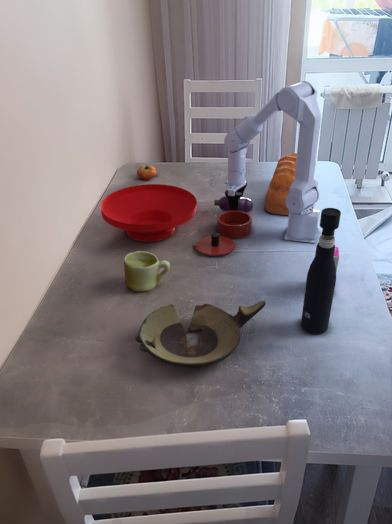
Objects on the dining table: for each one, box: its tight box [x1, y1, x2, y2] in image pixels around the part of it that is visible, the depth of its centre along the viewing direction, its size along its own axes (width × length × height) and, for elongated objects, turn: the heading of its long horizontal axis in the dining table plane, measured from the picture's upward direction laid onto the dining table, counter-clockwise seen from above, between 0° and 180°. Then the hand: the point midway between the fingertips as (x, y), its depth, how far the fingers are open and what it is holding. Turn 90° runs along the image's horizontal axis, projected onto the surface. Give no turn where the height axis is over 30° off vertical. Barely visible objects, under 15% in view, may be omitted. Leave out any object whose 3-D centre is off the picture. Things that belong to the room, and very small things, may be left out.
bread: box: [263, 152, 297, 216], centre depth 172 cm, size 16×31×13 cm, turn 165°
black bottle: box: [300, 207, 342, 336], centre depth 107 cm, size 6×6×30 cm
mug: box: [123, 250, 171, 292], centre depth 131 cm, size 12×10×10 cm
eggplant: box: [213, 195, 254, 214], centre depth 165 cm, size 13×5×5 cm, turn 73°
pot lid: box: [195, 232, 236, 257], centre depth 147 cm, size 12×12×4 cm
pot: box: [216, 211, 253, 240], centre depth 156 cm, size 11×11×4 cm
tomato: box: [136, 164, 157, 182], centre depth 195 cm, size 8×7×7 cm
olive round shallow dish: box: [134, 300, 267, 368], centre depth 110 cm, size 22×30×8 cm
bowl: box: [100, 183, 198, 243], centre depth 156 cm, size 30×30×10 cm
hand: (235, 207), depth 165 cm, fingers closed on eggplant, 5 cm apart
